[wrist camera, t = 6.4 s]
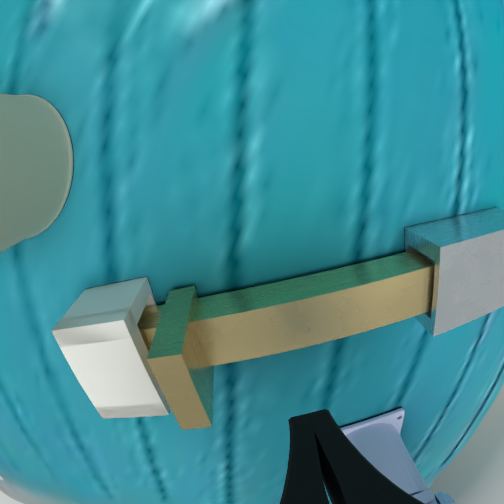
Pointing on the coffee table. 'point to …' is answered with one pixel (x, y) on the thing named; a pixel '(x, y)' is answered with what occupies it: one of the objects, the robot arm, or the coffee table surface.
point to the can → (31, 167)
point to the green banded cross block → (273, 323)
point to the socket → (112, 349)
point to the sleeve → (461, 266)
